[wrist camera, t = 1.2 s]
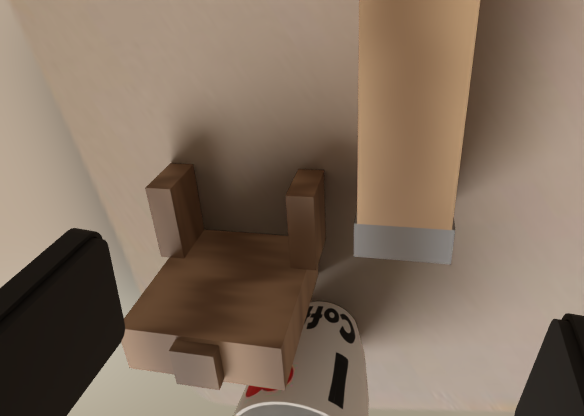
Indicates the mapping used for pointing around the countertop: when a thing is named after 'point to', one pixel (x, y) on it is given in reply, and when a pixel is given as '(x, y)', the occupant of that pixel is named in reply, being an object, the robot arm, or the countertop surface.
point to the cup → (318, 371)
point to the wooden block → (411, 125)
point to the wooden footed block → (226, 289)
